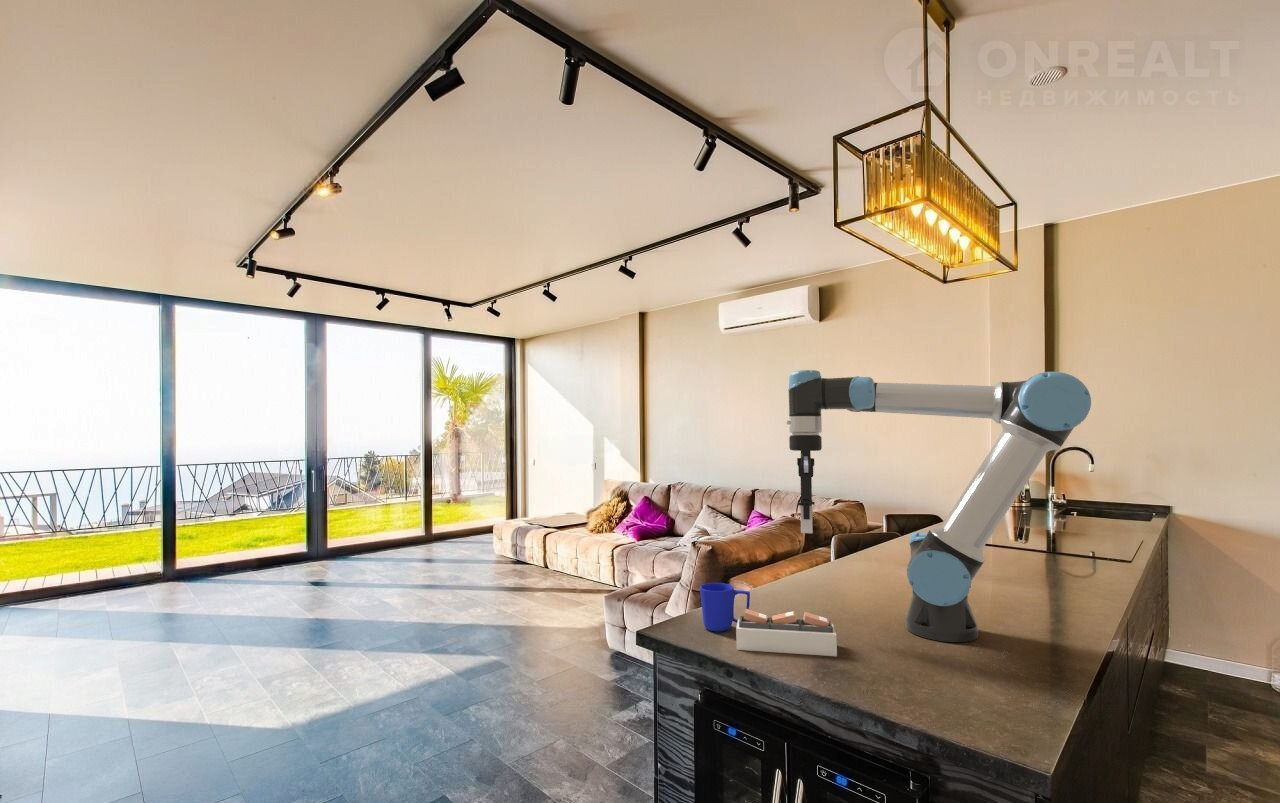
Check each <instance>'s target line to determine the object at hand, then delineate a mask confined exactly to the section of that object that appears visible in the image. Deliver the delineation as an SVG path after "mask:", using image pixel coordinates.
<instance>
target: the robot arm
mask: <svg viewBox="0 0 1280 803" xmlns="http://www.w3.org/2000/svg"><path fill="white" fill-rule="evenodd" d="M821 375H822V374H821V372H820V371H819V370H815V369H814V370H813V369H803V370H793V371H791V373H790V374H789V376H788V377H789V378H788V390H787V391H788V408H789V409H788V413H789V414H788V416H789V420H786V425H789V427H788V428H789V433H791V434H792V435H790V436H789V438H788V441H789V444H788V445H789V450H790V451H795V452H797V451H800V457H797V458H796V461H797V463H796V465H797V467H798V469H797V471H798V476H799V477H800V498H799V500H800V502H797V505H798V506H800V534H813V533H814V530H813V506H814V505H815V501H813V498H812V497H813V494H812V493H813V492H812V488H813V487H812V486H813V484H812V482H813V481H812V480H813V479H812V478H813V477H814V466H815V458H814V457H812V455H811V454H812V453H811V452H812V451H813V452H819V451H821V450H822V446H823V445H822V442H823V441H822V437H823V436H822V435H820V434H821V433H823V432H822V430H823V428H822V427H823V426H822V424H823V423H822V422H823V421H822V410H846V411H849V412H852V413H860V412H862V413H863V412H867V413H884V414H885V413H886V414H901V415H902V414H903V415H920V416H921V415H923V416H924V415H925V416H935V417H937V416H940V417H953V418H954V417H958V418H973V419H974V418H976V419H977V418H978V419H990V420H993V421H994V422H995V424H1000V425H1001V427H1002V432H1001V434H1000V435H999V437H998V438H997V439H996V441H995V442H994V444H993V446H992V447H991V449H990V450H989V452H988V454H987V455H986V457H985V458H984V460H983V461H982V463H981V465H980V466H979V468H978V469H977V470H976V472H975V474H974V475H973V477H972V479H971V480H970V482H969V483H968V484H967V486H966V488H965V490H964V491H963V492H962V494H961V496H960V497H959V499H958V500H957V501H956V503H955V505H954V507H953V508H951V511H950V513H949V514H948V516H947V518H946V519H945V521H944V522H943V523H942V525H940V526H938V527H931V528H930V529H929V531H928V532H919V531H918V532H917V531H915V532H912V533H911V534H910V536H909V537H910V538H909V539H910V540H909V543H908V544H909V547H910V559H909V562H908V565H907V568H906V576H907V580H908V582H909V585H910V587H911V589H912V597H911V600H910V603H909V605H908V606H909V607H908V610H907V614H906V617H905V628H906V630H907V631H908V632H910V633H911V634H914V635H916V636H919V637H921V638H924V639H928V640H933V641H938V642H948V643H949V642H950V643H966V642H972V641H975V640H977V639H978V638H979V626H978V623H977V621H976V618H975V616H974V613H973V610H972V607H971V605H970V603H969V600H968V599H969V598H968V597H969V595H968V594H969V592H970V589H971V587H972V580H974V578H975V577H976V575H977V574H978V572H979V570H980V568H982V567H983V564H985V561H986V560H985V556H984V553H983V549H984V548H985V546H986V544H987V543H988V541H989V540H990V539H991V537H992V536H993V534H994V532H995V531H996V529H997V528H998V527H999V524H1000V523H1002V520H1003V519H1004V517H1005V516H1006V515H1007V513H1008V511H1009V510H1010V508H1011V507H1012V506H1013V504H1014V503H1015V501H1016V499H1017V498H1018V497H1019V495H1020V493H1021V492H1022V490H1023V489H1024V487H1025V486H1026V485H1027V483H1028V481H1029V480H1030V478H1031V477H1032V476H1033V474H1034V472H1035V471H1036V469H1037V468H1038V466H1039V465H1040V463H1041V462H1042V460H1043V459H1044V457H1045V456H1046V454H1047V453H1048V452H1050V451H1057V450H1059V449H1060V450H1061V448H1062V446H1063V444H1064V443H1065V442H1066V440H1067V439H1068V437H1069V436H1070V434H1071V433H1072V431H1073V429H1075V427H1077V426H1078V425H1080V424H1082V422H1084V421H1085V420H1086V418H1087V417H1088V415H1089V413H1090V411H1091V407H1092V397H1091V394H1090V391H1089V389H1088V388H1087V386H1086V384H1085V383H1083V382H1082V381H1081V380H1080V378H1077V377H1075V376H1074V375H1072V374H1069V373H1065V372H1060V371H1045V372H1044V371H1043V372H1040V373H1037V374H1034V375H1033V376H1031V377H1030V378H1028V379H1025V380H1020V381H999V382H997V383H996V384H995V385H970V384H969V385H967V384H965V385H963V384H938V383H937V384H933V383H931V384H930V383H904V382H903V383H902V382H901V383H900V382H897V383H896V382H874V381H875V380H874V379H873V378H872V377H870V376H857V375H856V376H849V377H848V376H847V377H833V378H832V377H831V378H830V377H829V378H827V377H822V376H821Z"/></svg>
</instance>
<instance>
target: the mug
mask: <svg viewBox="0 0 1280 803" xmlns="http://www.w3.org/2000/svg"><path fill="white" fill-rule="evenodd" d="M699 590H700V592H699V593H700V599H701V600H700V602H701V610H702V611H701V612H702V622H703V626H704V628H705V629H706V630H708V631H710V632H718V633H719V632H726V631H728V630H730V629H731V627H732V624H733V622H734V623H736V624H737V622H738V619H736V618H735V616H734V614H735V613H734V612H735V597H736V595H739V594H740V595H742V594H743V595H746V608H745V609H749V610H750V603H751V602H750V601H751V600H750V599H751V594H750V591H748V590H739V589H735V588H734V586H733V585H732V584H728V583H724V582H709V583H705V584H701V585H700V587H699Z"/></svg>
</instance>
